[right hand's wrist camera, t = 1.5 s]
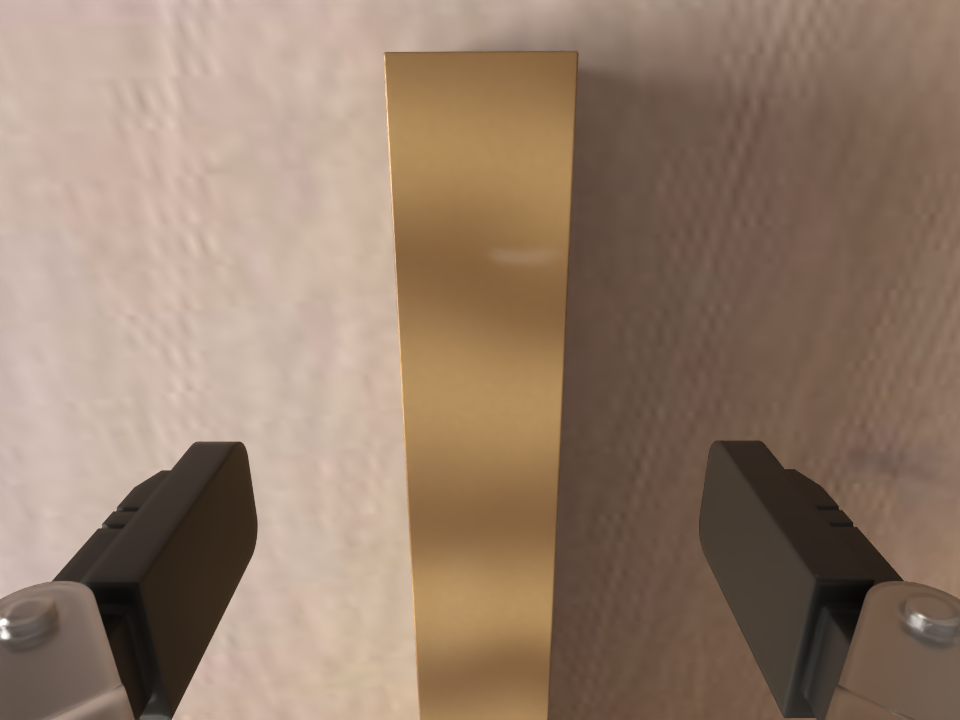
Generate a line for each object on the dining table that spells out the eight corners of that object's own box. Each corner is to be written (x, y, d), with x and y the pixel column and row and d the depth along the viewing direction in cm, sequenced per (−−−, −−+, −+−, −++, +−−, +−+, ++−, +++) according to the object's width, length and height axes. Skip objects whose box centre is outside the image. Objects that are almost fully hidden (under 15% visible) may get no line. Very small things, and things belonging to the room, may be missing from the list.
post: (414, 66, 25) (382, 51, 17) (546, 65, 25) (578, 51, 17) (448, 959, 46) (442, 1145, 38) (520, 959, 46) (528, 1145, 38)
